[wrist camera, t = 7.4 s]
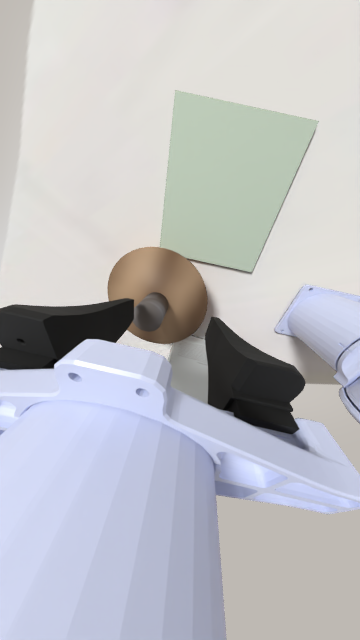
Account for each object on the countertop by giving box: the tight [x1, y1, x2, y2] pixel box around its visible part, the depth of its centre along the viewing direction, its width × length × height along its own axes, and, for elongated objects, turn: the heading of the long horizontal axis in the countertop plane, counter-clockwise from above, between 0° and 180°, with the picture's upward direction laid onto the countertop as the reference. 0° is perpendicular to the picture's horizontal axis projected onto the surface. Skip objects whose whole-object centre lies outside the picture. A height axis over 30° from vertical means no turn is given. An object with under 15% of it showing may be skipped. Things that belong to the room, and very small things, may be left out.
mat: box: [160, 90, 319, 272], centre depth 15 cm, size 13×13×1 cm
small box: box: [168, 336, 208, 404], centre depth 21 cm, size 8×6×13 cm
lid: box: [108, 247, 208, 344], centre depth 16 cm, size 13×13×6 cm
